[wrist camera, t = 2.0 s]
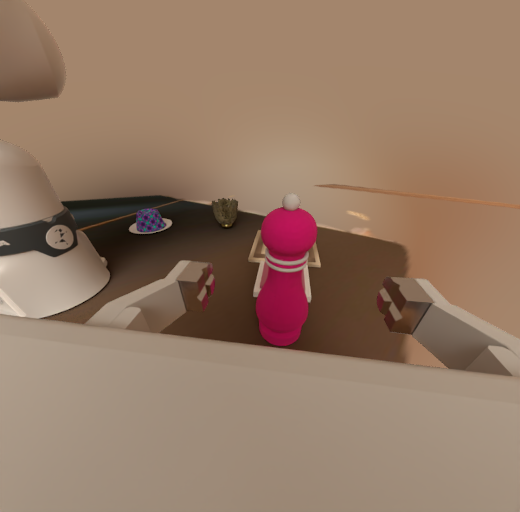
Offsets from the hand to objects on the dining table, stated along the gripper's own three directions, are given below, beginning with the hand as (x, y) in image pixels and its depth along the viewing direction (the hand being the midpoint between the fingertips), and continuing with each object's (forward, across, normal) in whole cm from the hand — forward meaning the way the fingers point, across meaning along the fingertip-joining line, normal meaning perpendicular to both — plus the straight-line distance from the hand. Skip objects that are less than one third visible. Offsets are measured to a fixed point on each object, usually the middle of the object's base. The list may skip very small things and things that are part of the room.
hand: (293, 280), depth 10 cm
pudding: (+44, +41, +19) cm, 63 cm away
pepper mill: (+12, 0, +19) cm, 23 cm away
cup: (+47, +18, +19) cm, 54 cm away
